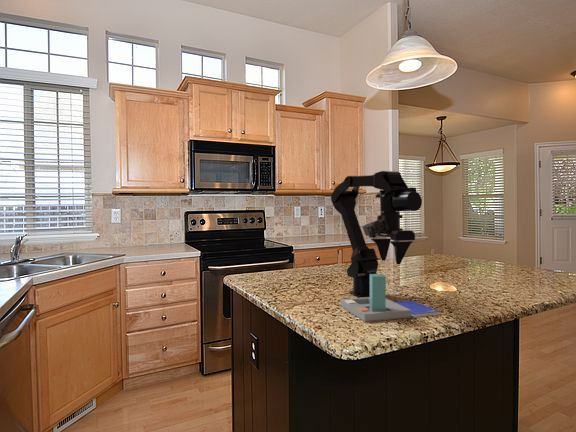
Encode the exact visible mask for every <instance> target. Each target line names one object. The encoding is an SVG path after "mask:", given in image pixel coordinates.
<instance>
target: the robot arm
mask: <svg viewBox="0 0 576 432" xmlns="http://www.w3.org/2000/svg"><path fill="white" fill-rule="evenodd" d="M360 187H373V188H374V189H377V190H379V191H378V192H377V194H376V195H375V198H377V199H378V198H379V199H380V200H379V202H380V203H379V205H380V207H379V209H380V212H379V213H380V215H379V214H378V215H377V217H376V220H373V221H371V222H369V223H367V224H364V225H362V226H360V223H359V220H358V216H357V214H356V211H355V210H356V209H355V208H356V205H357V200H356V199H357V198H358V196H359V193H360V192H359V188H360ZM349 188H352V189H351V190H350V189H349ZM330 201H331V202H332V206H333V208H334V209H335V210H336V211H337V212H338V213H339V214H340V216H341V218H342V221H343V223H344V224H343V225H344V227H345V230H346V234H347V236H348V239H349V240H348V241H349V243H350V246H351V249H352V252H351V256H350V261H351V264H350V265H349V266H348V268H347V269H346V274H347V277H348V278H352V282H353V284H352V290H349V291H348V293H349V294H352V295H353V296H356V297H370V274H377V271H378V267H379V261H378V260H379V258H378V256H377V253H376V249H374V248H369V246H367V243H366V240H365V238H364V237H367V236H368V238H370V240H371V241H372V242H374V243H375V244H376V247H377V250H378V253H379V256H380V260H381V261H386V260H387V257H388V253H389V249H390V244H391V245H392V246H393V248H394V257H395V262H396V265H401V264H402V261H403V259H405V255H406V253H407V251H408V249H409V248H410V246H411V244H413V243H414V241H416V233H415V232H414V231H413V230H412V229H410V230H407V229H406V230H405V229H403V227H402V228H401V221H400V220H401V219H403V214H400V212H417V211H419V210H420V209H421V207H422V205H423V199H422V197H421V195H420V193H419V192H417V187H413V186H412V187H411V186H410V187H408V185H407V183H406V182H405V180H404V178H403V176H402V173H401V172H399V171H395V170H394V171H392V170H390V171H389V170H381V171H377V172H374V174H372V175H347V176H346V177H345V178H344V179H343V181H341V182H340V183H339V184H338V185H337V186H335V188H334V190H333V192H332V193H331V195H330ZM361 227H362V228H361ZM362 229H363V231H362ZM363 232H364V233H363ZM363 234H364V235H363Z"/></svg>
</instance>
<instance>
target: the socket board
mask: <svg viewBox="0 0 576 432" xmlns="http://www.w3.org/2000/svg"><path fill="white" fill-rule="evenodd" d="M395 302H396V301H393V300H391V299H388V298H386V311H381V312H372V311H371V310H369V307H370V296H363V297H355V298H354V297H353V298H351V297H350V298H340V299H339V306H340V307H341V308H343V309H344V310H346V311H347V312H349V314H350V313H351V314H352V315H353V316H355V317H356V318H358V319H360V320H361V321H363V322H364V323H367V322H368V323H369V322H370V323H371V322H378V321H387V320H388V321H389V320H398V319H399V320H400V319H408V318H410V319H411V318H412V315H411V310H410V309H408V308H406V307H403V306H401V305H399V304H397V303H395Z"/></svg>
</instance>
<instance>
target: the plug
mask: <svg viewBox="0 0 576 432" xmlns="http://www.w3.org/2000/svg"><path fill="white" fill-rule="evenodd" d="M386 279H387V277H386V275H385V274H383V273H376V274H370V296H369V297H370V307H369V310H371V311H372V312H381V311H386V299H387V297H386V295H387V294H386V293H387V291H386V290H387V289H386V287H387V286H386V284H387V283H386V282H387V280H386Z"/></svg>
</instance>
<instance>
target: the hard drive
mask: <svg viewBox="0 0 576 432" xmlns="http://www.w3.org/2000/svg"><path fill="white" fill-rule="evenodd" d="M394 302H395V303H397V304H399V305H401V306H403V307H406V308H408V309H410V310H411V317H414V318H419V317H429V316H430V317H431V316H439V315H441V311H440V310H437V309H434V308H432V307H430V306H427V305H424V304H421V303H419V302H418V301H415V300H404V301H394Z"/></svg>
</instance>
